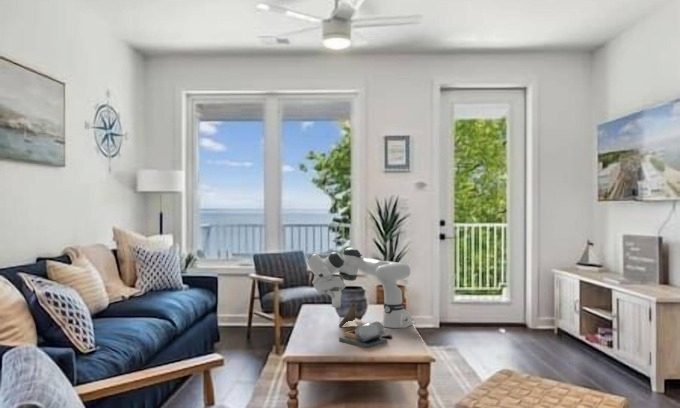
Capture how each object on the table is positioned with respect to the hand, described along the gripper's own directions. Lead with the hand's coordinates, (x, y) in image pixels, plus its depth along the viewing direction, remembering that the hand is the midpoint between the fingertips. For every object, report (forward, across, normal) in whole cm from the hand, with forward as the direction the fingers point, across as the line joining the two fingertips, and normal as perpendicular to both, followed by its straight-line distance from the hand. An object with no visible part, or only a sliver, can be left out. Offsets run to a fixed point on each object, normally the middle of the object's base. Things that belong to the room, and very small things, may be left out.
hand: (337, 296), depth 329 cm
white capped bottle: (+4, 0, -5) cm, 6 cm away
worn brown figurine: (+4, -30, -31) cm, 44 cm away
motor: (+26, -8, -9) cm, 29 cm away
